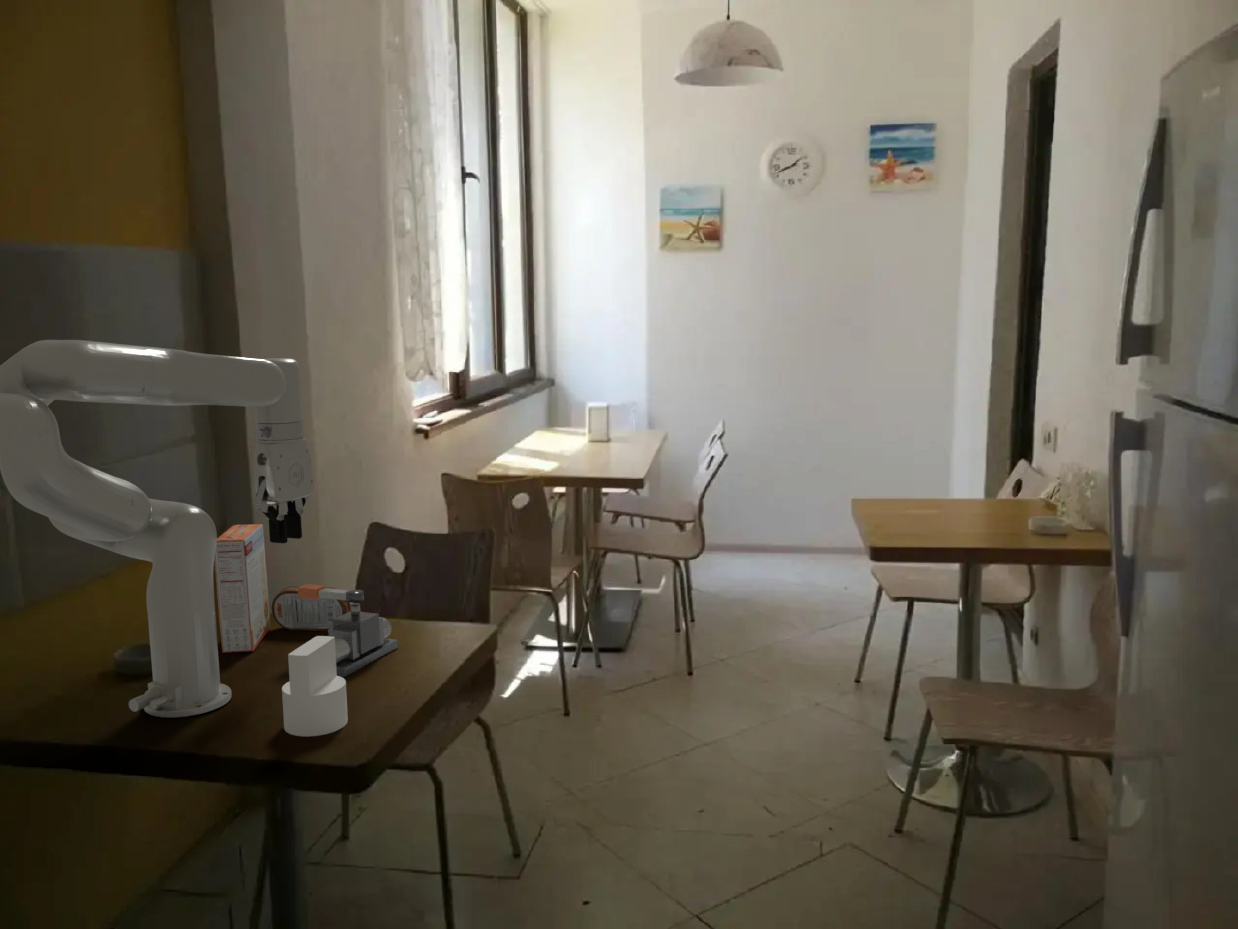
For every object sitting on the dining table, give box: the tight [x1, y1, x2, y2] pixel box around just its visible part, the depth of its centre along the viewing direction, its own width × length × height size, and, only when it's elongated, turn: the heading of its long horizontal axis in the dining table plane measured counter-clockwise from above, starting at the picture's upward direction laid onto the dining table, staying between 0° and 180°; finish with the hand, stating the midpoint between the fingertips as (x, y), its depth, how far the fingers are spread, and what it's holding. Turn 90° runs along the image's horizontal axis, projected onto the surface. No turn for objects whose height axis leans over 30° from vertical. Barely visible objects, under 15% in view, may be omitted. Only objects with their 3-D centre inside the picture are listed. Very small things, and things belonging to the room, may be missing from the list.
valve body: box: [327, 602, 399, 678], centre depth 176 cm, size 16×6×10 cm, turn 159°
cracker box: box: [214, 523, 271, 654], centre depth 186 cm, size 14×6×21 cm, turn 6°
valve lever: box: [298, 583, 365, 603], centre depth 177 cm, size 12×3×2 cm, turn 69°
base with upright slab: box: [281, 635, 349, 737], centre depth 148 cm, size 9×9×12 cm
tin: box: [271, 585, 351, 632], centre depth 194 cm, size 15×3×8 cm, turn 84°
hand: (286, 539), depth 171 cm, fingers open, 3 cm apart
